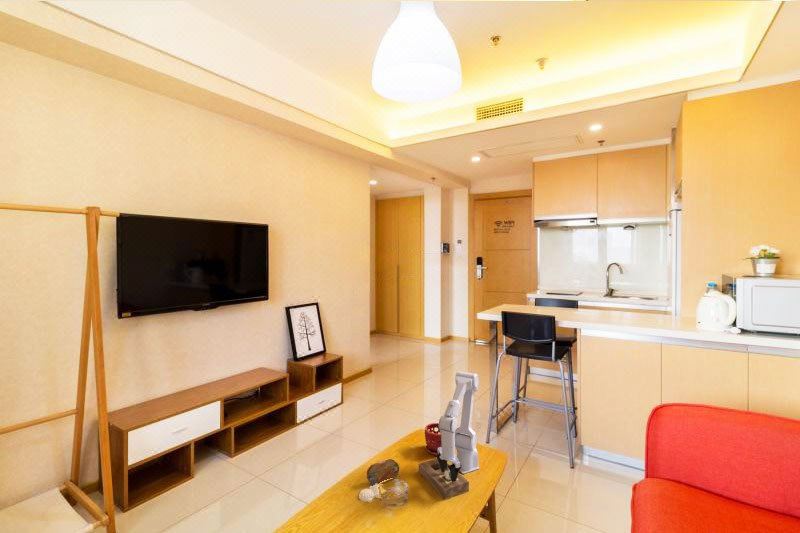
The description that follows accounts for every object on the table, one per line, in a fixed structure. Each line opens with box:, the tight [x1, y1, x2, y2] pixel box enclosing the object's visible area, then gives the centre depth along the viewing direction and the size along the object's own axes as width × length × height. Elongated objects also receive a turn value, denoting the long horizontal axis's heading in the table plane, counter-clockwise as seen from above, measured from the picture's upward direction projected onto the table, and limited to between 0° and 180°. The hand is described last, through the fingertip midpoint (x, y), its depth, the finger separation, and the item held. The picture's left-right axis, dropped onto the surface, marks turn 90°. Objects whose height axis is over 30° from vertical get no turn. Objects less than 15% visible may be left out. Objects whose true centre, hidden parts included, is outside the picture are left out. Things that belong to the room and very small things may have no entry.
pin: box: [445, 468, 451, 482], centre depth 159 cm, size 3×3×7 cm
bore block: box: [418, 458, 470, 500], centre depth 164 cm, size 12×22×4 cm, turn 26°
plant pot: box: [424, 422, 442, 456], centre depth 189 cm, size 13×13×12 cm
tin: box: [366, 458, 400, 486], centre depth 165 cm, size 15×3×8 cm, turn 116°
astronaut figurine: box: [358, 484, 380, 503], centre depth 156 cm, size 9×12×3 cm
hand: (448, 476), depth 159 cm, fingers open, 7 cm apart
